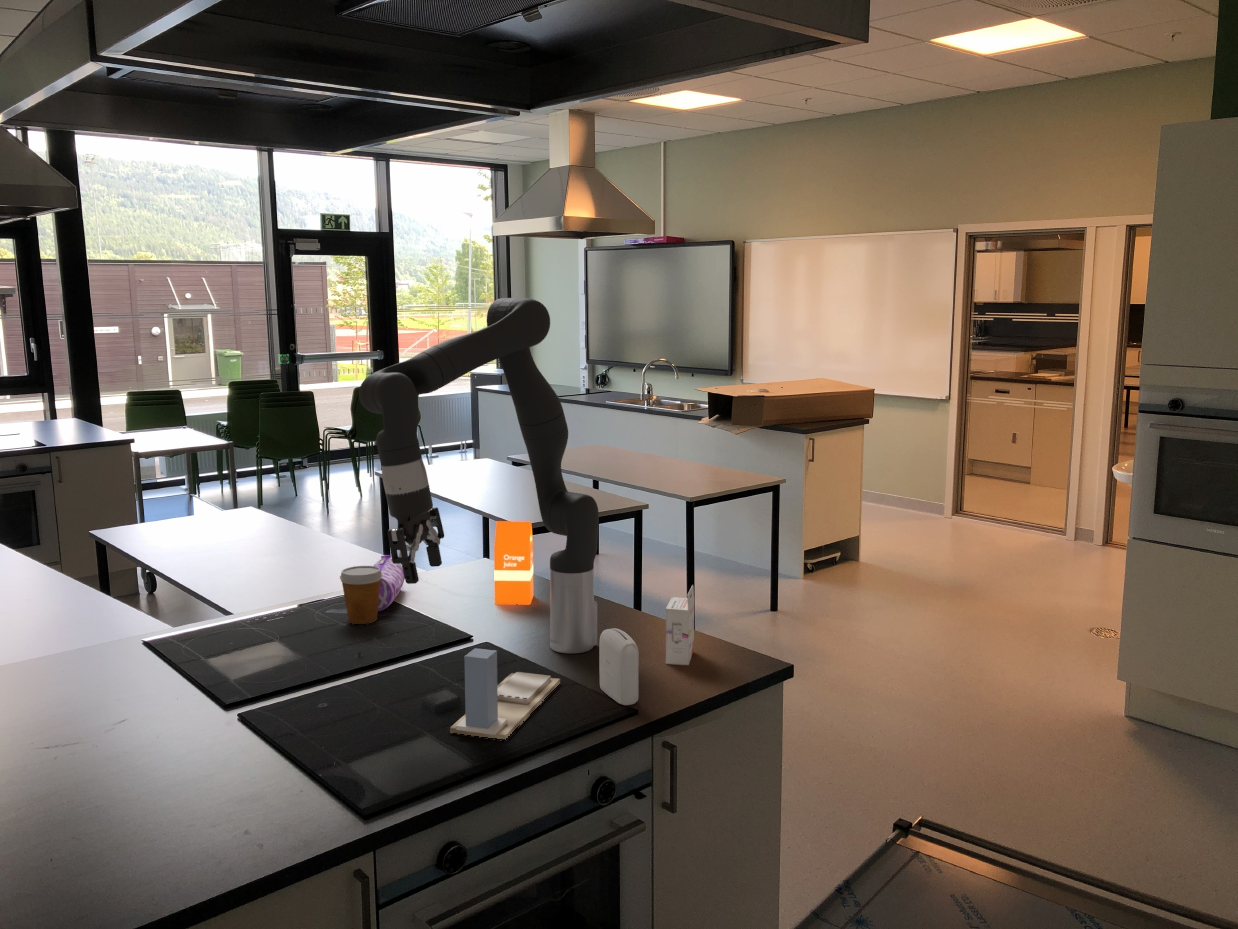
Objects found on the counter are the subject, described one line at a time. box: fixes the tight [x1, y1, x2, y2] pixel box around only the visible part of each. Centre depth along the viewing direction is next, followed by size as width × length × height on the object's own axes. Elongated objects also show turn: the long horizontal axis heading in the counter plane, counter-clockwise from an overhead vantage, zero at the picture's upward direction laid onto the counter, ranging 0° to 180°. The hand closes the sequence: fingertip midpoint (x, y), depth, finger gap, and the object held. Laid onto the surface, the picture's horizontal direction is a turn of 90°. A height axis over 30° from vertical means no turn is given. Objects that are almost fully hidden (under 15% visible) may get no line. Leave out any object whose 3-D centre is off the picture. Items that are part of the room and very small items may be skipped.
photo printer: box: [598, 628, 639, 706], centre depth 171 cm, size 10×4×12 cm, turn 26°
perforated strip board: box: [449, 671, 561, 741], centre depth 167 cm, size 26×10×2 cm, turn 163°
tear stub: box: [456, 647, 507, 735], centre depth 155 cm, size 5×7×13 cm
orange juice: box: [493, 520, 534, 606], centre depth 231 cm, size 8×9×20 cm
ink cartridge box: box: [665, 584, 695, 666], centre depth 191 cm, size 9×5×15 cm, turn 168°
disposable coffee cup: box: [339, 565, 383, 625], centre depth 214 cm, size 10×10×12 cm
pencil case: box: [373, 554, 405, 612], centre depth 231 cm, size 22×9×10 cm, turn 7°
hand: (424, 574), depth 165 cm, fingers open, 8 cm apart
